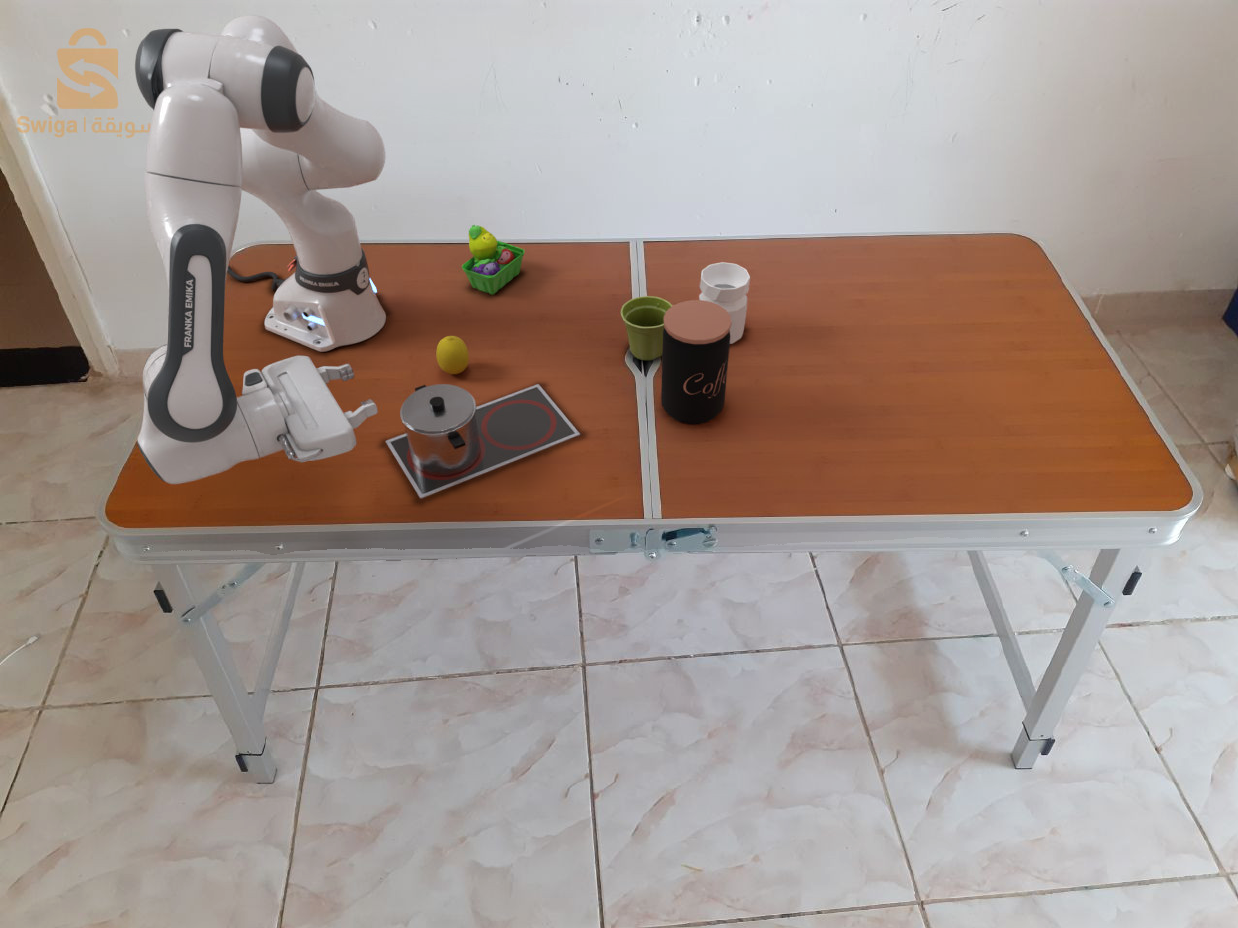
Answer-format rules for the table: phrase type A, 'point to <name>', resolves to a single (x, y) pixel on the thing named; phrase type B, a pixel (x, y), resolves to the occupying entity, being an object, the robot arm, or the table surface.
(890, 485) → the table surface
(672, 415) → the coffee jar
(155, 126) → the robot arm
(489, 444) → the hob
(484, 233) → the fruit basket
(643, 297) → the plant pot
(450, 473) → the steel pot
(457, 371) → the lemon
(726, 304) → the vase
